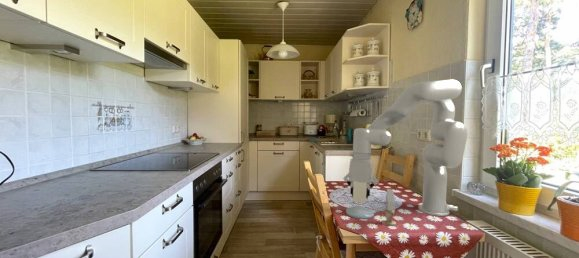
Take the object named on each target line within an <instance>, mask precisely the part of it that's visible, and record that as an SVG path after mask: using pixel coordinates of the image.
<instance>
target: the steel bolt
mask: <svg viewBox="0 0 579 258" xmlns="http://www.w3.org/2000/svg"><path fill="white" fill-rule="evenodd" d="M386 194H387V210H391V211H394V212H395V211H396V199H395V191H394V189H391V190H387V189H386Z"/></svg>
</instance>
